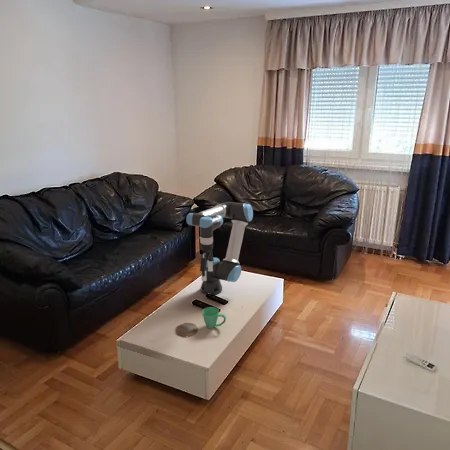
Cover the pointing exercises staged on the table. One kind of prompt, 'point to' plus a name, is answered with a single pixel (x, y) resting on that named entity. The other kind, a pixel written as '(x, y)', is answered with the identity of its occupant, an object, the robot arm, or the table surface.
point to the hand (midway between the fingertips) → (207, 275)
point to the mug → (212, 317)
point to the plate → (186, 329)
